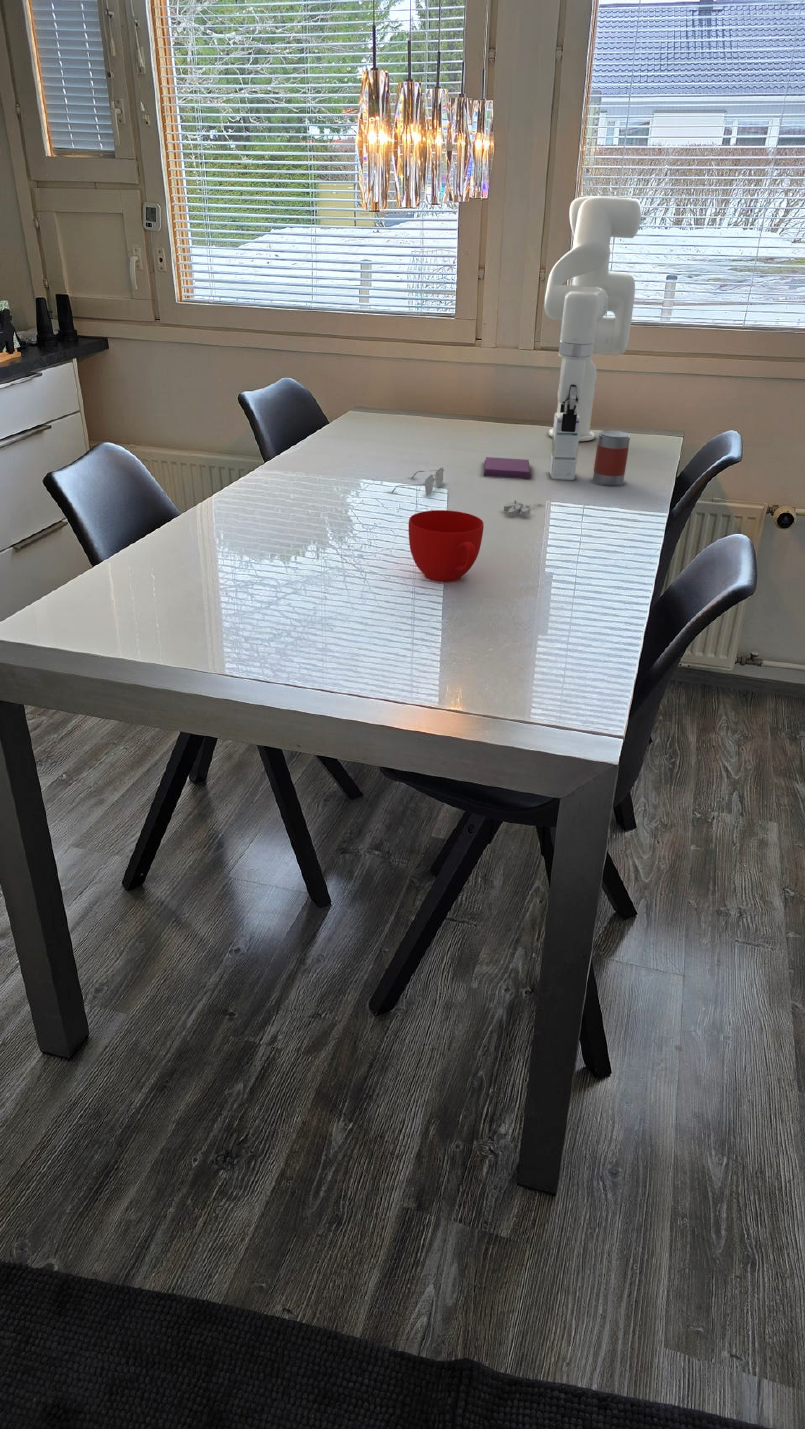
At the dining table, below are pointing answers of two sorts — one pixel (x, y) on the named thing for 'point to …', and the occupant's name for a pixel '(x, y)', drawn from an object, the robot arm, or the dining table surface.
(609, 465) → the tin can
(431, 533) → the ceramic cup
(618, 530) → the dining table surface
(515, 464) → the purple square slab
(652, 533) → the dining table surface
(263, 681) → the dining table surface
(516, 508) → the game controller
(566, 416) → the robot arm
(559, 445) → the syrup box
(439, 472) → the eyeglasses
